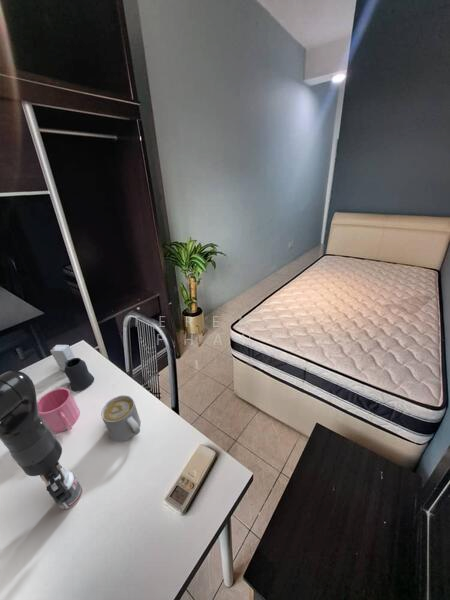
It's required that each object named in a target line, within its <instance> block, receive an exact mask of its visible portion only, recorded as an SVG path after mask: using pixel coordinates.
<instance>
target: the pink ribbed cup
mask: <svg viewBox="0 0 450 600" xmlns="http://www.w3.org/2000/svg"><path fill="white" fill-rule="evenodd" d="M37 406H38V412H39V414H40V416H41V418H42V419H43V421H44V422H45V424H46V425H47V426H48V427H49V428H50V429H51V431H52V432H53V434H58V433H62V432H65V431H66V430H68V431H71V430H73V426H74V425H75V423H77V421H78V420H79V418H80V416H81V411H80V407H79V406H78V404H77V402H76V400H75V398H74V397H73V394H72V392H71V389H70V388H66V387H59V388H55V389H52V390H50V391H48V392H46V393H44V394H43V395H42V396H41V397H40V398H39V399H38V400H37Z"/></svg>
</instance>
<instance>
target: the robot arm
mask: <svg viewBox="0 0 450 600" xmlns="http://www.w3.org/2000/svg"><path fill="white" fill-rule="evenodd" d="M37 401H38V400H37V391H36V386H35V384H34V382H33V380H32V379H31V377H30V376H29V375H28V374H26V373H25V372H22V371H19V370H9V371H6V372H4V373H2V374H0V441H1V442H2V443H3V445H4V446H5V447H6V449H7V450H8V451H9V453H10V456H11V457H12V458H13V460H14V461H15V463H16V464H17V465H18V466H19V467H20V469H21V470H22V471H23V472H24V473H25V475H27V476H29V477H38V476H39V478H40V480H41V481H43V482H44V484H45V486H46V487H45V488H46V489H45V490H46V492H48V494H49V493H50V494H49V495H51V496H52V497H53V498H52V497H51V496H50V497H51V498H52V499H53V501H54V500H55V501H54V502H55V503H56V504H57V503H58V502H59V501H61V502H62V503H65V502H66V501H67V500H68V499H70V498H71V497H72V494H71V492H70V491H69V489H68V487H67V486H66V484H65V482H64V480H65V476H64V474H63V472H62V470H61V468H63V466H62V464H61V463H60V461H59V460H60V459H61V456H62V454H63V447H62V445H61V443H60V442H59V440H58V439H57V437H56V435H55V433H53V432H52V431H51V429H50V428H49V427H48V426H47V425H46V424H45V422H44V421H43V419H42V418H41V416H40V414H39V412H38V406H37ZM59 474H60V476H61V478H60V479H59V478H58V479H57V480H56V479H55V478H57V477H58V476H59ZM49 481H50V483H49Z"/></svg>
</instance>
